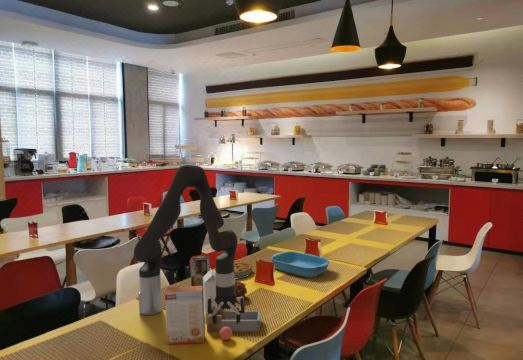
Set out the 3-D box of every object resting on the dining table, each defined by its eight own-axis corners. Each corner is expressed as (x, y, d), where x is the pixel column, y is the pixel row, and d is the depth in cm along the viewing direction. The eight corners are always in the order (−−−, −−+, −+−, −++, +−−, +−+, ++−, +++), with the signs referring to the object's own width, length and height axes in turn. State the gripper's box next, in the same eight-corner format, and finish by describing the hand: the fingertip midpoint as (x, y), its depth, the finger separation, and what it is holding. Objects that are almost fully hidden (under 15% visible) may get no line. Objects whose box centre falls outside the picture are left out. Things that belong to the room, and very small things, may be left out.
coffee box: (211, 285, 211) (210, 256, 209) (208, 290, 204) (207, 259, 203) (194, 285, 212) (193, 255, 210) (190, 289, 205) (189, 259, 203)
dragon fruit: (243, 305, 189) (230, 300, 199) (254, 291, 193) (241, 287, 203) (233, 293, 186) (220, 289, 196) (244, 279, 190) (231, 276, 200)
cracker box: (205, 335, 157) (203, 285, 155) (203, 343, 151) (202, 290, 149) (169, 336, 156) (167, 285, 154) (166, 344, 150) (164, 291, 148)
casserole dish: (263, 268, 238) (263, 256, 237) (286, 259, 254) (286, 248, 253) (315, 282, 213) (315, 269, 212) (336, 272, 230) (336, 260, 229)
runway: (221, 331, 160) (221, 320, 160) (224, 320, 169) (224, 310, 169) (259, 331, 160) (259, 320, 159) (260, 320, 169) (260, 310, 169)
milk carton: (205, 314, 176) (204, 273, 173) (203, 308, 182) (202, 268, 180) (221, 312, 177) (220, 271, 175) (219, 306, 184) (217, 266, 182)
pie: (209, 271, 234) (209, 262, 234) (243, 265, 244) (243, 257, 243) (221, 283, 215) (221, 274, 214) (258, 276, 224) (258, 268, 223)
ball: (219, 342, 151) (218, 330, 151) (220, 336, 156) (220, 324, 156) (232, 342, 151) (231, 330, 151) (233, 336, 156) (232, 324, 156)
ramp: (207, 331, 160) (206, 316, 160) (210, 321, 169) (209, 306, 169) (223, 331, 160) (223, 316, 160) (226, 320, 169) (225, 306, 169)
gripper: (205, 286, 148) (207, 328, 150) (243, 285, 148) (244, 327, 149) (208, 279, 155) (209, 319, 157) (244, 278, 155) (245, 318, 157)
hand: (226, 323), depth 153 cm, fingers open, 8 cm apart
